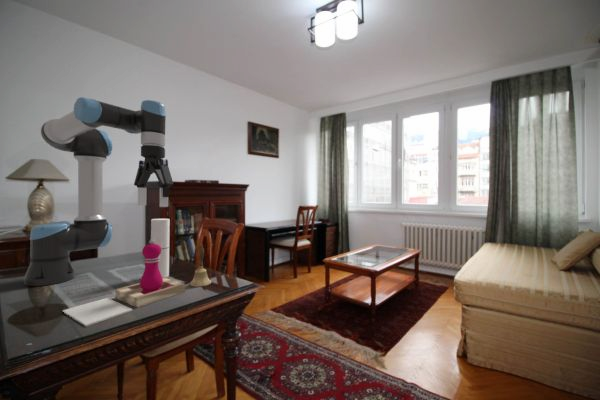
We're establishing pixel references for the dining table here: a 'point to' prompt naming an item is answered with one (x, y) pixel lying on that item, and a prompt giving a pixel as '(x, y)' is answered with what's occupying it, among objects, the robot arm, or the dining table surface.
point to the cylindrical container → (162, 243)
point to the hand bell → (200, 271)
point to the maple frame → (138, 299)
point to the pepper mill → (151, 268)
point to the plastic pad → (97, 311)
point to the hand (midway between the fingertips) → (152, 206)
